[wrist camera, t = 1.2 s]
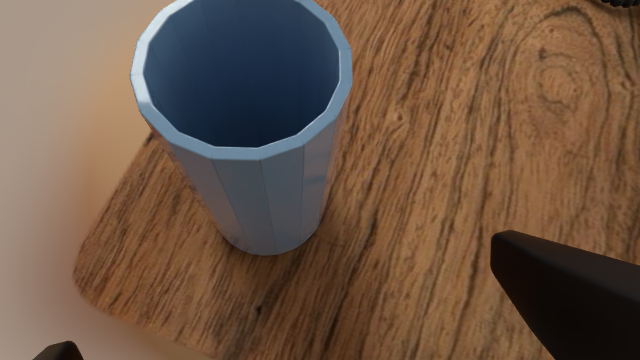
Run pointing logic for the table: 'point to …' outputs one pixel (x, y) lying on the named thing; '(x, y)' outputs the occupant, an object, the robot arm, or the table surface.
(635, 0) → the bracelet
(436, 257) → the table surface
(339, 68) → the blue hollow cylinder
